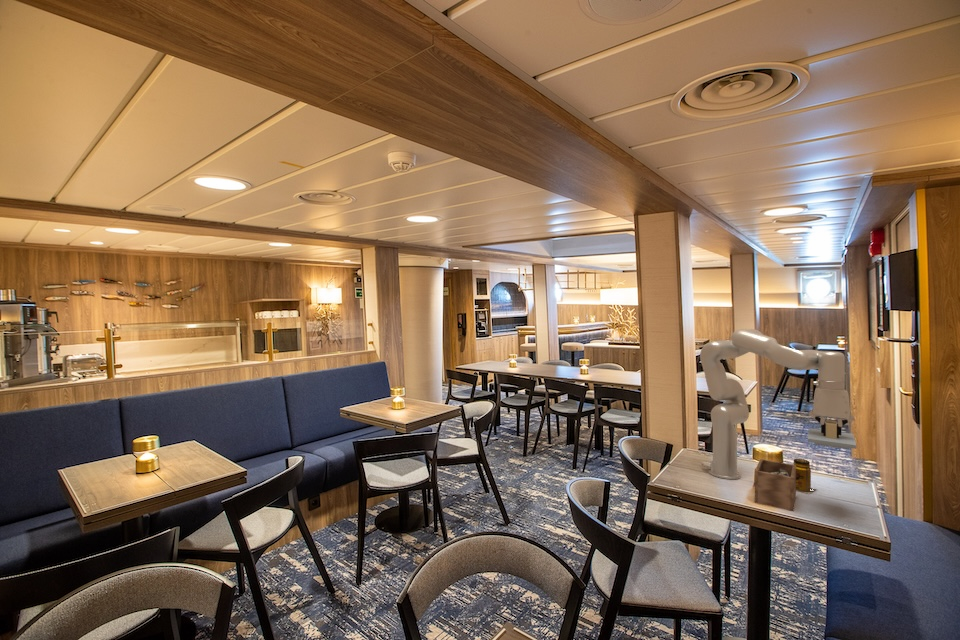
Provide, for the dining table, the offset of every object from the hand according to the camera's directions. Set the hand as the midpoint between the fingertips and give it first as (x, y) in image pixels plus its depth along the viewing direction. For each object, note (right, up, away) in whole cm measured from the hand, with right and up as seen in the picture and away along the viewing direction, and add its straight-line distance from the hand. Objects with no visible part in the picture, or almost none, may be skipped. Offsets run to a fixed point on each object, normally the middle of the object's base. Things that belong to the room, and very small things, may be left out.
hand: (831, 435), depth 157 cm
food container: (-12, -28, +11) cm, 32 cm away
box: (-13, -27, +10) cm, 32 cm away
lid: (0, -2, 0) cm, 2 cm away
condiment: (+5, -28, +20) cm, 35 cm away
